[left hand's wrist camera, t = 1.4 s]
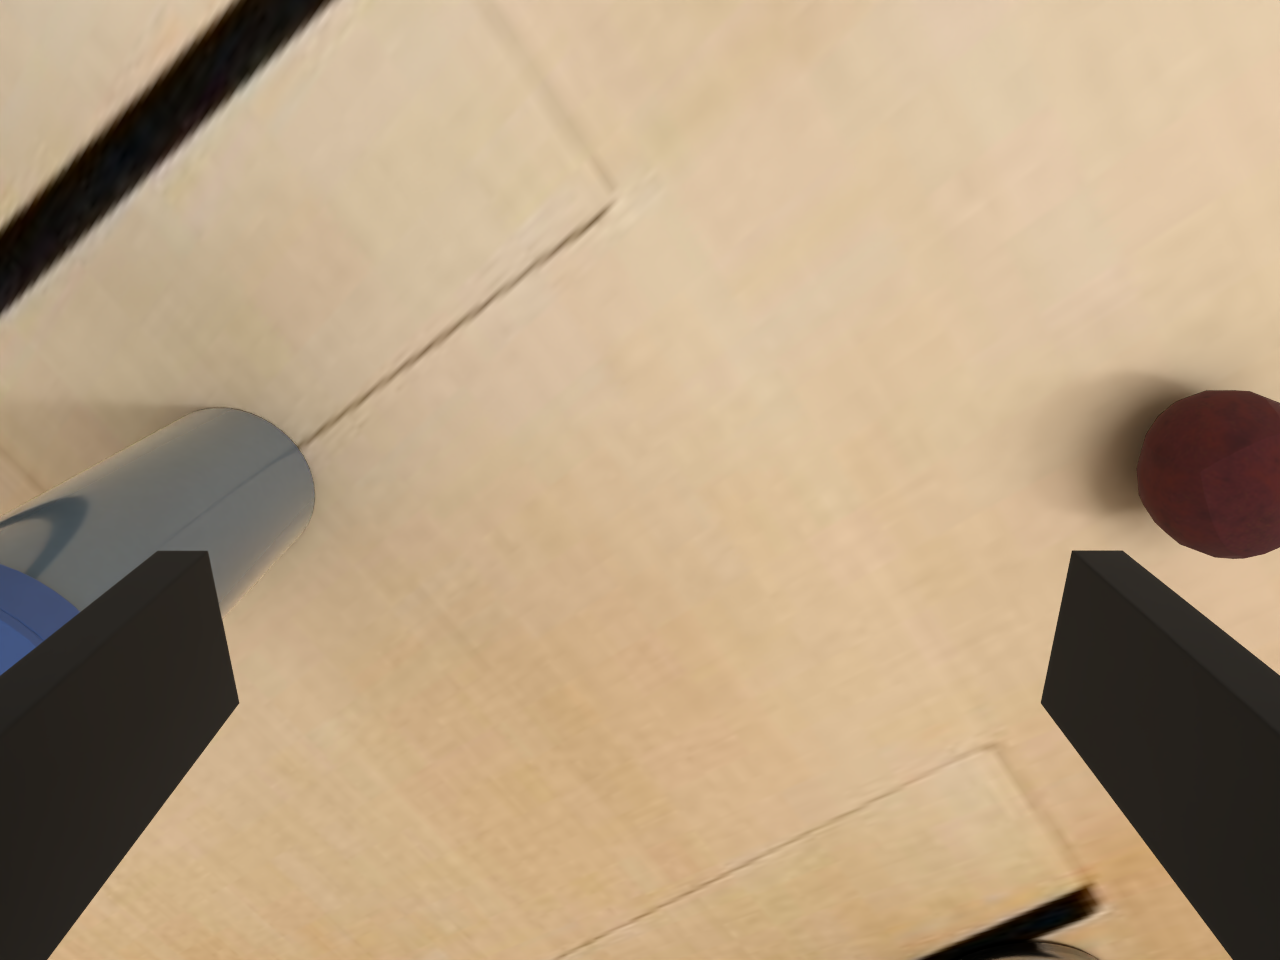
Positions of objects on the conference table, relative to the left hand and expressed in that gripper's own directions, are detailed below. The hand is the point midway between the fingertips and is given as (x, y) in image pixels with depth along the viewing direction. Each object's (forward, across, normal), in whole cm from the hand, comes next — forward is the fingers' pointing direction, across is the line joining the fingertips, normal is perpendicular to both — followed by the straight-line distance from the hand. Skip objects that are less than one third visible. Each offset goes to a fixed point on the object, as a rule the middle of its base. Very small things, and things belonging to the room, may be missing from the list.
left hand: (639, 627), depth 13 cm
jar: (+28, -21, -8) cm, 36 cm away
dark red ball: (+28, +27, -6) cm, 39 cm away
